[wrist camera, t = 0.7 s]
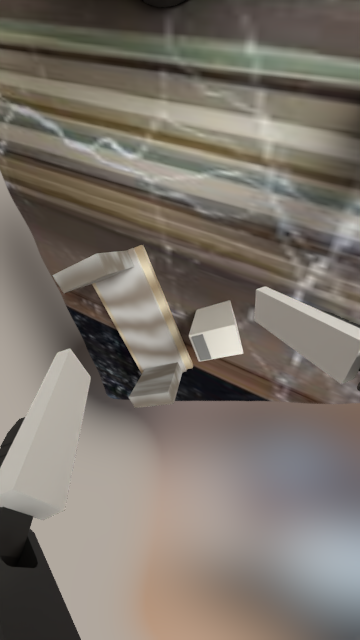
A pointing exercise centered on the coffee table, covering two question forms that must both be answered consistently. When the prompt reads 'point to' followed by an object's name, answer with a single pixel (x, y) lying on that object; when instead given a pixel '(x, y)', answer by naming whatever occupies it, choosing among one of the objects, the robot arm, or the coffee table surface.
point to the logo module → (215, 332)
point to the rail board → (136, 319)
